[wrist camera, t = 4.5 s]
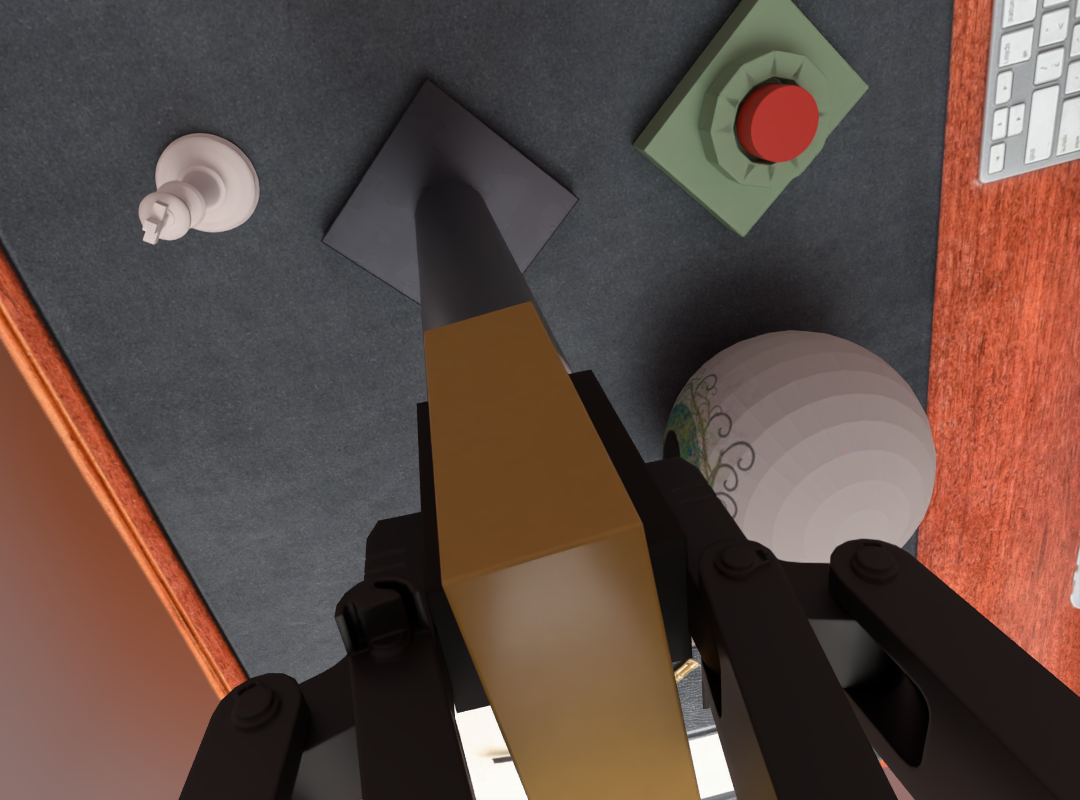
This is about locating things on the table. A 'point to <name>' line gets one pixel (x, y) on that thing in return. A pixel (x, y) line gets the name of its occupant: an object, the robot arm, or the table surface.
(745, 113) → the button
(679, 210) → the table surface
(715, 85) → the button box
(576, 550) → the tap handle
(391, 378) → the table surface
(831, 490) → the decorative object
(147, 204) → the chess piece
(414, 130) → the faucet body
